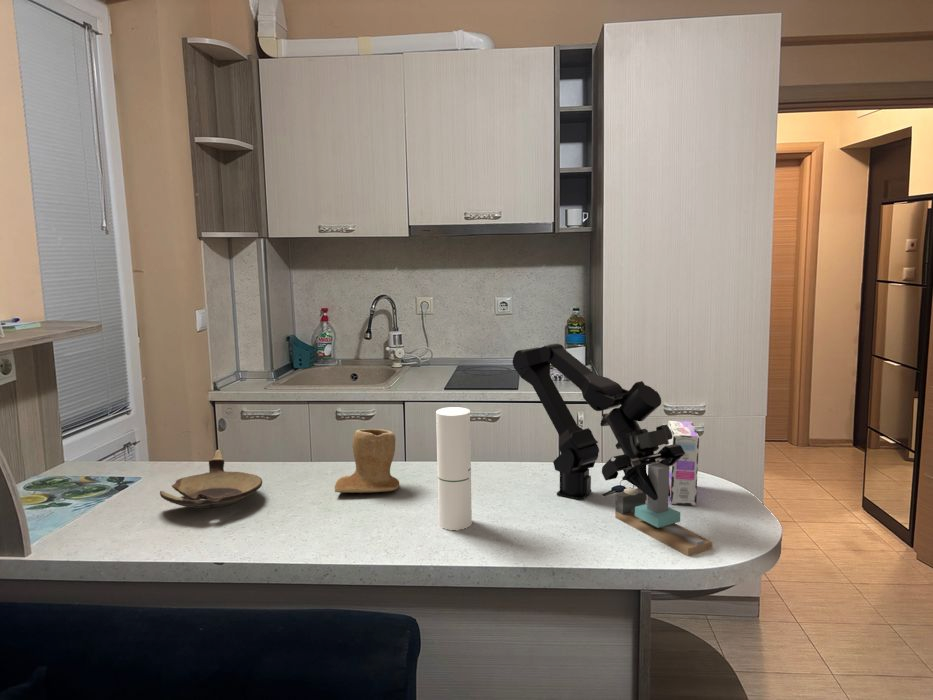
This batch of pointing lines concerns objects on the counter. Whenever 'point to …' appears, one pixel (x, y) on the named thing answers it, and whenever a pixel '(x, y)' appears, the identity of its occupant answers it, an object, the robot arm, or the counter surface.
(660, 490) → the carriage
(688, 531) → the rail
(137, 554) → the counter surface
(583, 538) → the counter surface
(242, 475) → the oil lamp
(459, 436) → the cylindrical container
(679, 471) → the candy box
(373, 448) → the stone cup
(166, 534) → the counter surface
